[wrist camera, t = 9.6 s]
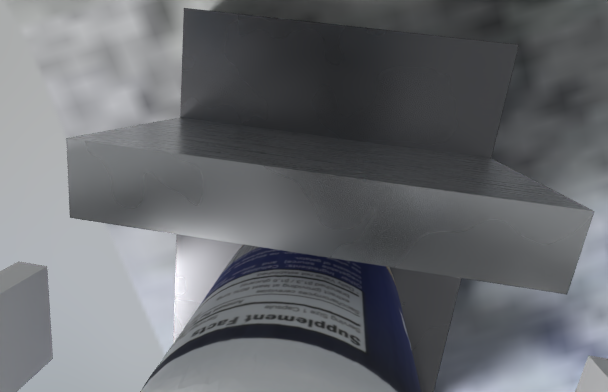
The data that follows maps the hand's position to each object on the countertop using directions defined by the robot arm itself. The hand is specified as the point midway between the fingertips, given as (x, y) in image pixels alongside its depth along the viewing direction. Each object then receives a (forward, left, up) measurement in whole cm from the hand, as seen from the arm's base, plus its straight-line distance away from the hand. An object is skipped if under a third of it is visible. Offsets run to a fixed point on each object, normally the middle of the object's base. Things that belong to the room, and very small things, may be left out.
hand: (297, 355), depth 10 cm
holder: (0, 0, -5) cm, 5 cm away
